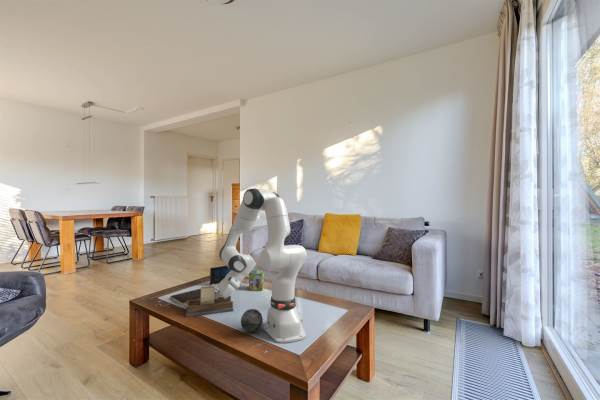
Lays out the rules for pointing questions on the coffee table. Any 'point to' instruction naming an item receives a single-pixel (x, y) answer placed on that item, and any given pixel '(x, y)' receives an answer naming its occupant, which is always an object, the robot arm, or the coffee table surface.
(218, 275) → the laptop
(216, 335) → the coffee table surface
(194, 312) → the chute
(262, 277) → the chalk box
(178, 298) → the hardcover book
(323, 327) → the coffee table surface
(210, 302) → the block
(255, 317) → the decorative stone
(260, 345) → the coffee table surface
